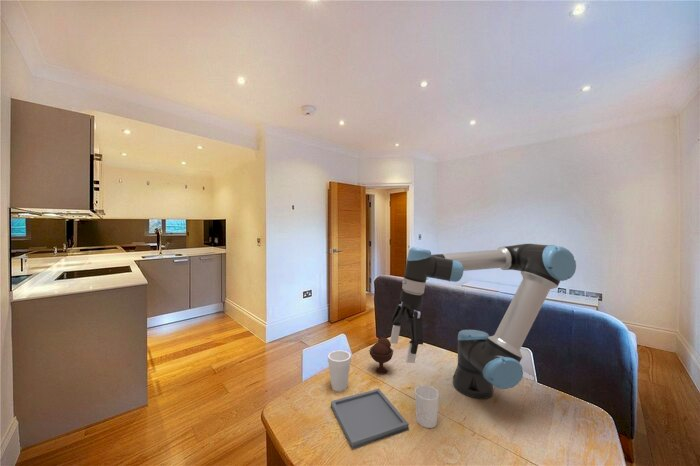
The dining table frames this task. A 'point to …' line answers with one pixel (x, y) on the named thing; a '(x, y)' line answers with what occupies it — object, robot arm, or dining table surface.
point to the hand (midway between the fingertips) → (401, 352)
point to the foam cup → (339, 369)
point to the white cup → (426, 405)
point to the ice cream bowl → (381, 354)
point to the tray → (368, 418)
